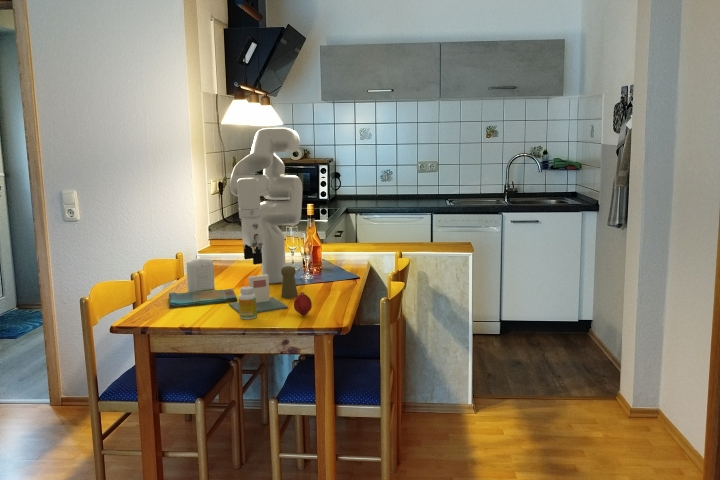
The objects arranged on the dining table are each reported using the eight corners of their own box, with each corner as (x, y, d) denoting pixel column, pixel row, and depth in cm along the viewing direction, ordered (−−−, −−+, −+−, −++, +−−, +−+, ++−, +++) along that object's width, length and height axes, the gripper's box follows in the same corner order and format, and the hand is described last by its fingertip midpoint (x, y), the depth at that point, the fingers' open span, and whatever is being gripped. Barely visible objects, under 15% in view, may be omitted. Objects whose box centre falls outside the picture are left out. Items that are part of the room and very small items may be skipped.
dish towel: (168, 298, 248) (167, 291, 247) (233, 292, 254) (232, 285, 254) (168, 310, 232) (168, 303, 231) (238, 303, 238) (237, 296, 238)
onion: (294, 313, 220) (293, 289, 219) (312, 312, 220) (311, 288, 219) (294, 318, 214) (292, 294, 213) (312, 317, 215) (311, 293, 213)
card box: (267, 299, 237) (266, 274, 235) (269, 300, 235) (268, 275, 233) (249, 302, 234) (248, 276, 233) (251, 303, 232) (250, 277, 231)
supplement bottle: (256, 319, 215) (254, 289, 213) (239, 320, 215) (237, 290, 213) (257, 314, 220) (255, 285, 219) (240, 315, 220) (238, 286, 218)
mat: (273, 298, 240) (273, 296, 240) (287, 308, 227) (287, 306, 227) (229, 305, 233) (228, 303, 233) (241, 315, 220) (241, 313, 220)
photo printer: (212, 287, 261) (210, 255, 259) (216, 289, 258) (214, 257, 255) (186, 291, 256) (184, 259, 253) (190, 293, 252) (187, 260, 250)
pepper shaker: (300, 295, 244) (299, 265, 242) (293, 299, 239) (292, 268, 237) (285, 294, 246) (284, 264, 244) (278, 298, 241) (276, 268, 239)
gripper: (268, 215, 229) (271, 264, 232) (252, 209, 244) (255, 255, 247) (247, 217, 225) (250, 267, 229) (232, 211, 241) (235, 258, 244)
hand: (253, 261), depth 238 cm, fingers open, 9 cm apart
